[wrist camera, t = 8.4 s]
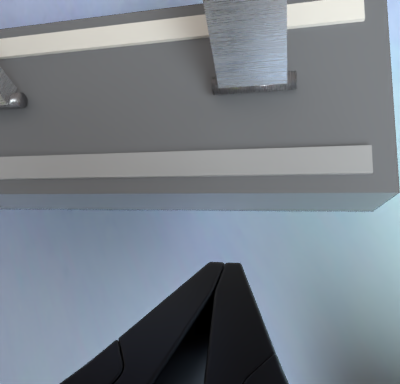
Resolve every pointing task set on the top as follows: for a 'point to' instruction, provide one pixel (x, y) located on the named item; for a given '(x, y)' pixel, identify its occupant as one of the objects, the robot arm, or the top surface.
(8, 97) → the lever
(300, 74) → the switch box
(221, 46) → the lever
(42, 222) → the top surface
